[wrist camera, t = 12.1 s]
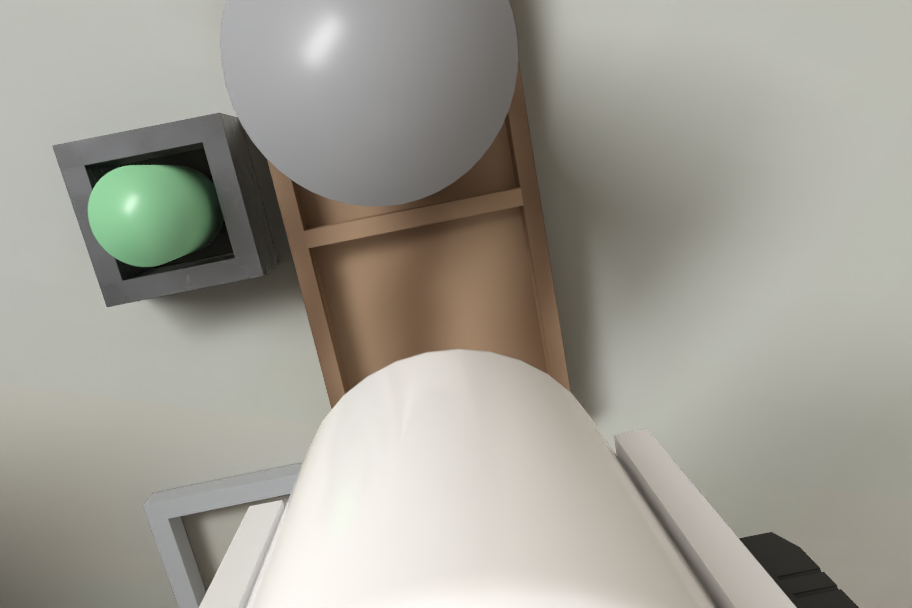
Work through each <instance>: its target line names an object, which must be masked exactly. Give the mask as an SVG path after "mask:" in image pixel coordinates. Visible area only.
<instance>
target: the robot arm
mask: <svg viewBox="0 0 912 608" xmlns="http://www.w3.org/2000/svg"><path fill="white" fill-rule="evenodd" d="M614 439H615V446H616V454H617V457H618V459H619V460H620V462H621V463H622V465H623V466H624V468H625V469H626V471H627V472H628V474H629V475H630V477H631V479H632V480H633V482H634V483H635V485H636V486H637V488H638V489H639V491H640V492H641V494H642V495H643V497H644V498H645V500H646V501H647V503H648V504H649V506H650V507H651V509H652V510H653V512H654V513H655V515H656V516H657V518H658V519H659V521H660V522H661V524H662V525H663V527H664V528H665V530H666V532H667V533H668V535H669V536H670V538H671V539H672V541H673V542H674V544H675V545H676V547H677V548H678V550H679V551H680V553H681V554H682V556H683V557H684V559H685V560H686V562H687V563H688V565H689V566H690V568H691V569H692V571H693V572H694V574H695V575H696V577H697V578H698V580H699V581H700V583H701V585H702V586H703V588H704V589H705V591H706V592H707V594H708V595H709V597H710V598H711V600H712V601H713V603H714V604H715V606H716V607H717V608H859V607H858V606H857V605H856V604H855V603H854V602H853V601H852V600H851V599H850V598H849V597H848V596H847V595H846V594H845V593H844V592H843V591H842V590H839V589H838V588H837V585H836V584H835V583H834V582H833V581H832V580H831V579H830V578H829V577H828V576H827V575H826V574H825V573H824V572H821V570H820V567H819V566H818V565H817V564H816V563H815V562H814V561H813V560H812V559H811V558H810V557H809V556H808V555H807V554H806V553H805V552H804V551H803V550H802V549H801V548H800V547H798V546H796V545H795V544H793V543H791V542H789V541H787V540H785V539H783V538H782V537H780V536H778V535H776V534H774V533H772V532H770V533H765V534H759V535H754V536H749V537H744V538H738V537H737V536H736V535H735V534H734V532H733V531H732V530H731V529H730V528H729V527H728V525H727V524H726V523H725V522H724V521H723V519H722V518H721V517H720V516H719V515H718V513H717V512H716V511H715V510H714V509H713V507H712V506H711V505H710V504H709V503H708V502H707V500H706V499H705V498H704V497H703V496H702V494H701V493H700V492H699V491H698V490H697V488H696V487H695V486H694V485H693V484H692V482H691V481H690V480H689V479H688V478H687V477H686V475H685V474H684V473H683V472H682V471H681V469H680V468H679V467H678V466H677V465H676V463H675V462H674V461H673V460H672V459H671V457H670V456H669V455H668V454H667V453H666V452H665V450H664V449H663V448H662V447H661V446H660V444H659V443H658V442H657V441H656V440H655V438H654V437H653V436H652V435H651V434H650V432H649V431H648V430H647V429H642V430H637V431H631V432H626V433H621V434H616V435H614ZM284 509H285V508H284V505H283V501H282V500H279V501H274V502H269V503H264V504H259V505H254V506H249V508H248V510H247V512H246V514H245V516H244V518H243V520H242V522H241V524H240V526H239V528H238V530H237V532H236V534H235V536H234V538H233V540H232V542H231V544H230V546H229V548H228V550H227V552H226V554H225V556H224V558H223V560H222V562H221V564H220V566H219V568H218V570H217V572H216V574H215V576H214V578H213V580H212V582H211V584H210V586H209V588H208V590H207V592H206V594H205V596H204V598H203V600H202V602H201V604H200V606H199V608H246V605H247V603H248V600H249V598H250V595H251V593H252V590H253V588H254V585H255V583H256V580H257V578H258V575H259V572H260V570H261V567H262V565H263V562H264V560H265V557H266V555H267V552H268V550H269V547H270V545H271V542H272V540H273V537H274V534H275V532H276V529H277V527H278V524H279V522H280V519H281V517H282V514H283V512H284Z"/></svg>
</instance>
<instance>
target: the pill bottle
mask: <svg viewBox="0 0 912 608" xmlns="http://www.w3.org/2000/svg"><path fill="white" fill-rule="evenodd" d="M246 608H717V607H716V606H715V604H714V603H713V601H712V600H711V598H710V597H709V595H708V594H707V592H706V591H705V589H704V588H703V586H702V585H701V583H700V581H699V580H698V578H697V577H696V575H695V574H694V572H693V571H692V569H691V568H690V566H689V565H688V563H687V562H686V560H685V559H684V557H683V556H682V554H681V553H680V551H679V550H678V548H677V547H676V545H675V544H674V542H673V541H672V539H671V538H670V536H669V535H668V533H667V532H666V530H665V528H664V527H663V525H662V524H661V522H660V521H659V519H658V518H657V516H656V515H655V513H654V512H653V510H652V509H651V507H650V506H649V504H648V503H647V501H646V500H645V498H644V497H643V495H642V494H641V492H640V491H639V489H638V488H637V486H636V485H635V483H634V482H633V480H632V479H631V477H630V475H629V474H628V472H627V471H626V469H625V468H624V466H623V465H622V463H621V462H620V460H619V459H618V457H617V456H616V454H615V453H614V451H613V450H612V448H611V447H610V445H609V444H608V442H607V441H606V439H605V438H604V436H603V435H602V433H601V432H600V430H599V429H598V427H597V426H596V424H595V423H594V421H593V419H592V418H591V416H590V415H589V414H588V413H587V412H586V410H585V409H584V408H583V407H582V405H581V404H580V403H579V402H578V401H577V399H576V398H575V397H574V396H573V394H572V393H571V392H570V391H568V390H567V389H566V388H565V387H563V386H562V385H561V384H560V383H558V382H557V381H556V380H555V379H554V378H552V377H551V376H550V375H549V374H547V373H545V372H543V371H541V370H539V369H537V368H535V367H533V366H531V365H529V364H527V363H526V362H524V361H522V360H519V359H515V358H512V357H508V356H505V355H501V354H498V353H494V352H491V351H480V350H468V349H451V350H441V351H432V352H425V353H422V354H418V355H415V356H412V357H408V358H405V359H402V360H398V361H395V362H393V363H392V364H390V365H388V366H386V367H384V368H382V369H380V370H378V371H376V372H374V373H372V374H370V375H369V376H367V377H366V378H364V379H363V380H362V381H361V382H359V383H358V384H357V385H356V386H354V387H353V388H352V389H351V390H349V391H348V392H347V393H346V394H344V395H343V396H342V398H341V399H340V400H339V401H338V402H337V404H336V405H335V406H334V407H333V408H332V410H331V411H330V412H329V413H328V414H327V416H326V417H325V418H324V420H323V421H322V423H321V425H320V427H319V429H318V431H317V433H316V435H315V436H314V438H313V440H312V442H311V444H310V446H309V448H308V451H307V453H306V456H305V458H304V461H303V463H302V466H301V469H300V471H299V474H298V476H297V479H296V481H295V484H294V486H293V489H292V491H291V494H290V496H289V499H288V501H287V504H286V507H285V509H284V512H283V514H282V517H281V519H280V522H279V524H278V527H277V529H276V532H275V534H274V537H273V540H272V542H271V545H270V547H269V550H268V552H267V555H266V557H265V560H264V562H263V565H262V567H261V570H260V572H259V575H258V578H257V580H256V583H255V585H254V588H253V590H252V593H251V595H250V598H249V600H248V603H247V605H246Z"/></svg>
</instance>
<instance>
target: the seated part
mask: <svg viewBox="0 0 912 608" xmlns="http://www.w3.org/2000/svg"><path fill="white" fill-rule="evenodd" d="M220 47H221V60H222V69H223V73H224V78H225V83H226V87H227V90H228V93H229V96H230V99H231V102H232V105H233V108H234V110H235V112H236V114H237V116H238V118H239V120H240V122H241V124H242V126H243V128H244V129H245V131H246V132H247V134H248V135H249V137H250V139H251V140H252V142H253V143H254V144H255V145H256V147H257V148H258V149H259V150H260V151H261V153H262V154H263V155H264V156H265V157H266V158H267V159H268V160H269V161H270V162H271V163H272V164H273V165H274V166H275V167H276V168H277V169H278V170H279V171H280V172H282V173H283V174H284V175H286V176H287V177H288V178H290V179H291V180H292V181H294V182H295V183H297V184H299V185H301V186H302V187H304V188H306V189H308V190H309V191H311V192H313V193H316V194H318V195H321V196H323V197H325V198H328V199H331V200H335V201H338V202H342V203H346V204H352V205H359V206H392V205H399V204H405V203H408V202H412V201H416V200H420V199H422V198H425V197H427V196H429V195H432V194H434V193H437V192H438V191H440V190H442V189H444V188H445V187H447V186H449V185H450V184H452V183H454V182H455V181H456V180H457V179H459V178H460V177H461V176H463V175H464V174H465V173H466V172H468V171H469V170H470V169H471V168H472V167H473V166H474V165H475V164H476V163H477V162H478V161H479V160H480V159H481V157H482V156H483V155H484V153H485V152H486V151H487V149H488V148H489V147H490V146H491V144H492V143H493V141H494V139H495V138H496V136H497V134H498V132H499V131H500V129H501V127H502V125H503V123H504V120H505V118H506V115H507V113H508V111H509V108H510V104H511V101H512V97H513V94H514V90H515V84H516V77H517V71H518V43H517V32H516V26H515V21H514V17H513V12H512V8H511V5H510V3H509V0H226V2H225V6H224V12H223V17H222V23H221V41H220Z"/></svg>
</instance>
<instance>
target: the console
mask: <svg viewBox="0 0 912 608" xmlns="http://www.w3.org/2000/svg"><path fill="white" fill-rule="evenodd" d="M203 148H204V150H205V153H206V157H207V160H208V164H209V167H210V171H211V174H212V178H213V182H214V185H215V189H216V192H217V196H218V199H219V203H220V206H221V210H222V213H223V217H224V221H225V224H226V228H227V231H228V235H229V238H230V242H231V245H232V249H233V253H230V254H225V255H220V256H215V257H210V258H205V259H200V260H195V261H190V262H185V263H180V264H175V265H170V266H165V267H160V268H155V269H151V267H139V266H133V265H129V264H127V263H124V262H122V261H120V260H118V259H116V258H115V257H113V256H112V255H110V254H109V253H108V252H107V251H106V250H105V249H104V248H103V247H102V246H101V245H100V244H99V242H98V241H97V240H96V238H95V236H94V234H93V232H92V230H91V227H90V223H89V219H88V202H89V198H90V195H91V192H92V190H93V188H94V187H95V185H96V183H97V182H98V181H99V180H100V179H101V178H102V177H103V176H104V175H105V174H107V173H108V172H110V171H112V170H114V169H116V168H119V165H122V164H127V163H132V162H137V161H142V160H147V159H152V158H157V157H162V156H167V155H172V154H178V153H183V152H188V151H193V150H198V149H203ZM53 149H54V152H55V155H56V158H57V161H58V164H59V167H60V170H61V173H62V176H63V179H64V182H65V185H66V188H67V191H68V194H69V197H70V199H71V202H72V205H73V208H74V211H75V214H76V217H77V220H78V223H79V226H80V229H81V232H82V235H83V238H84V241H85V244H86V247H87V250H88V253H89V256H90V259H91V261H92V264H93V267H94V270H95V273H96V276H97V279H98V282H99V285H100V288H101V291H102V294H103V297H104V300H105V303H106V306H107V307H110V306H115V305H120V304H125V303H130V302H135V301H140V300H145V299H150V298H155V297H160V296H165V295H170V294H175V293H180V292H185V291H190V290H195V289H200V288H205V287H210V286H215V285H220V284H225V283H230V282H235V281H240V280H245V279H250V278H255V277H260V276H264V275H265V274H267V273H268V272H270V271H271V270H272V269H274V268H275V267H276V266H278V265H279V263H278V260H277V256H276V252H275V248H274V244H273V241H272V237H271V233H270V229H269V226H268V222H267V218H266V214H265V210H264V207H263V203H262V199H261V195H260V192H259V188H258V184H257V180H256V177H255V173H254V169H253V165H252V161H251V158H250V154H249V150H248V146H247V143H246V139H245V135H244V131H243V127H242V124H241V122H240V120H239V118H238V117H234V116H230V115H226V114H222V113H216V114H211V115H206V116H201V117H196V118H191V119H186V120H181V121H176V122H171V123H165V124H160V125H155V126H150V127H145V128H140V129H135V130H130V131H125V132H120V133H114V134H109V135H104V136H99V137H94V138H89V139H84V140H79V141H74V142H69V143H64V144H58V145H53Z"/></svg>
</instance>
